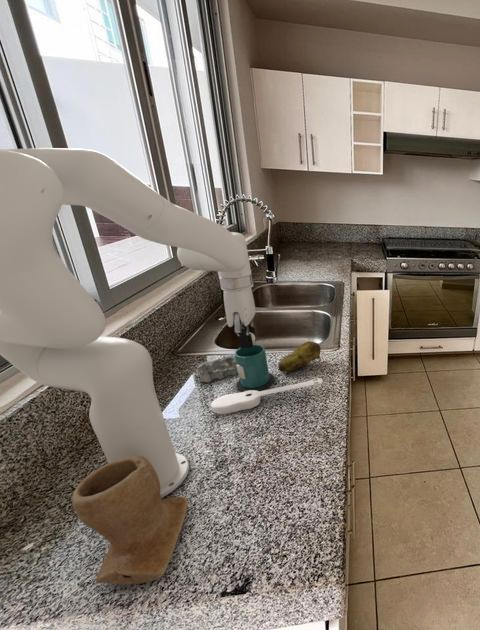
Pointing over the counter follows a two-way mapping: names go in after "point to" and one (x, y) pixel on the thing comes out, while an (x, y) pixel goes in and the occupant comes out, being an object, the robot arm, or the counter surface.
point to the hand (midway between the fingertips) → (248, 343)
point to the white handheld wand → (251, 398)
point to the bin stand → (256, 387)
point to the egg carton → (217, 369)
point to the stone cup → (130, 519)
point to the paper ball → (252, 337)
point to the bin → (252, 366)
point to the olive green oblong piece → (300, 357)
